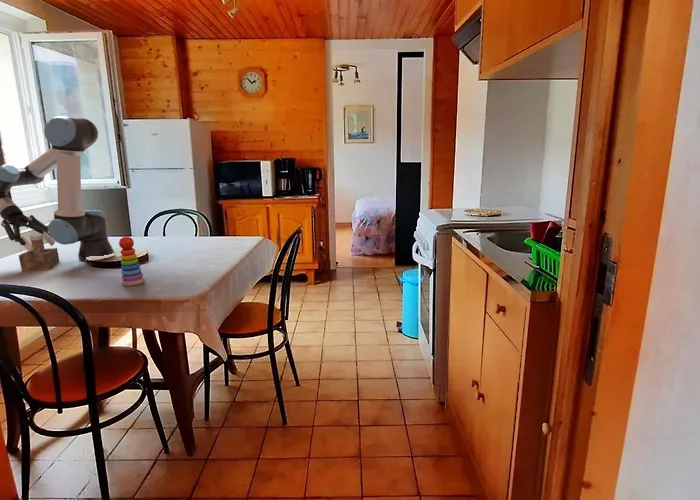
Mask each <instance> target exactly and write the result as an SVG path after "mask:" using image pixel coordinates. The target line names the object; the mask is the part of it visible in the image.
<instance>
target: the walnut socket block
mask: <svg viewBox="0 0 700 500" xmlns="http://www.w3.org/2000/svg"><path fill="white" fill-rule="evenodd" d="M18 259H19V264H20V269H21V272H28V271H29V272H30V271H41V270H51V269H53V267H56V266H57V265H58V264H59V263H61V262H60V261H61V260H60V257H59V252H58V248H57V247H51V248H50V247H49V248H45V253H37V254H33V249H32V250H31V251H30V252H29V251H28V250H26V251H25V252H23V253H20V254H19V255H18Z"/></svg>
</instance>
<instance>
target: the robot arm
mask: <svg viewBox="0 0 700 500" xmlns="http://www.w3.org/2000/svg"><path fill="white" fill-rule="evenodd" d="M43 133H44V137H45V139H46V140H47V142H48V143H49V144H51V147H50V148H49V149H47V150H46V151H45V152H44V153H42V154H41V155H39V157H37V158H35V159H34V160H33V161H31V162H30V163H29V164H27V165H26V166H25V167H23V168H17V167H15V166H13V165H10V164H2V165H1V166H0V217H1V218H2V221H1V223H0V226H2V227H3V228H4V230H5V232H6V234H7V236H8V238H9V240H10V241H14V242H15V243H19V244H20V246H23V247H24V248H25V249H26V251H29V252H30V251H31V250H33V246H32V243H30V242H29V240H27V238H25V236H22V235H21V229H20V228H23V227H25V228H29V229H31V230H33V231H35V232H36V233H39V234H41V235H42V236H43V240H45V241H46V242H47V243H48V244H49V245H50V246H51V247H54V245H55V243H57V244H60V245H64V246H65V245H73V244H76V243H80V244H79V247H78V248H79V250H78V254H77V257H78V261H81V262H86V261H85V260H86V257H89V256H104V255H109V254H112V253H114V254H115V251H114V249H113V246H112V245H111V243H110V241H109V236H108V231H107V224H106V217H105V213H104V211H103V210H99V209H98V210H97V209H94V210H93V209H91V210H90V209H85V210H83V209H82V188H81V187H82V182H81V181H82V180H81V179H82V178H81V177H82V175H81V174H82V173H81V155H82V154H83V153H85V151H86V150H87V149H89V148H90V147H91V146H93V145H94V144H95V143H96V142H97V140H98V137H99V131H98V128H97V126H96V124H95V123H93V122H92V121H91V120H89V119H87V118H84V117H73V116H72V117H71V116H54V117H52V118H50V119H49V120H48V121H46V123H45V126H44V132H43ZM55 169H56V187H57V209H56V210H55V211H54V212H53V219H52V220H51V221H50V222H49V223H48V226H47V225H46V224H44V223H42V222H41V221H40V220H39V219H37V218H36V217H35V216H34V215H32V214H31V215H30V216H26V215H25V214H24V213H23V210H22V209H21V208H20V207H19V206H18V205H17V204H16V203H15V202H14V201H13V200H12V199H11V198H10V197H9V196H8V195H7V194H8V193H9V192H10V190H11V189H12V188H13V187H18V186H19V187H20V186H28V185H37V184H40V183H42V182H43V181H44V179H45V176H46V175H48V174H49V173H51V172H52V171H54V170H55Z"/></svg>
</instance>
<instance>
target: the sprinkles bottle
mask: <svg viewBox="0 0 700 500" xmlns="http://www.w3.org/2000/svg"><path fill="white" fill-rule="evenodd" d="M29 240H30V241H31V243H30V244H31V245H32V246H33V249H32V250H33V254H37V253H45V249H46V248H45V245H44V238H43V236H42V234H41V233H39V234H31V235H29Z"/></svg>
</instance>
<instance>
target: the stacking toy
mask: <svg viewBox="0 0 700 500" xmlns="http://www.w3.org/2000/svg"><path fill="white" fill-rule="evenodd" d="M118 245H119V247H120V249H121V250H120V254H121V256H120V258H121V261H120V264H121V266H120V267H121V268H120V269H121V271H120V272H121V273H120V274H121V284H122V285H123V286H125V287H126V286H127V287H133V286H137V285H141V284H142V283H144V282H145V278H144V277H143V276H144V273H143V272H142V269H141V266H140V263H139V259H138V254H137V253H136V250H135V248H133V247H134V245H135V241H134V239H133V238H131V237H130V236H122V237H121V238H120V239H119V241H118Z"/></svg>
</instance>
